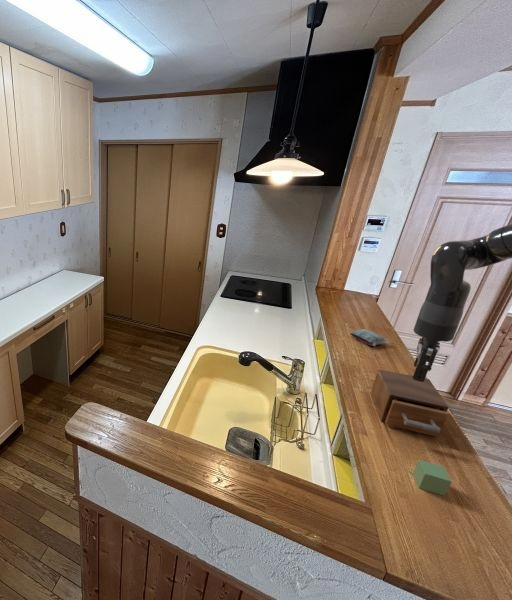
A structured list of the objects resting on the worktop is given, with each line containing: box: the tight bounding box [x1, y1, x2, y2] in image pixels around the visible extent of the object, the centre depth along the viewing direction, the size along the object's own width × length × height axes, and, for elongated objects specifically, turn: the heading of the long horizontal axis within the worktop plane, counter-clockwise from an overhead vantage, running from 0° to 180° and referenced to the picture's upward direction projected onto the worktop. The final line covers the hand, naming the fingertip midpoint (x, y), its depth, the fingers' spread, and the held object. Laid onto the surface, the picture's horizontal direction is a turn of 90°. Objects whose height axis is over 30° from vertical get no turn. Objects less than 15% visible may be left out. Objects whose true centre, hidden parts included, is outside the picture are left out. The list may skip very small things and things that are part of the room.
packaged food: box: [349, 328, 391, 347], centre depth 141 cm, size 9×12×5 cm
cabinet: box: [370, 369, 449, 423], centre depth 98 cm, size 15×13×10 cm
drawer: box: [384, 397, 449, 438], centre depth 93 cm, size 18×11×8 cm, turn 153°
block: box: [412, 459, 452, 497], centre depth 75 cm, size 4×4×4 cm
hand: (418, 373), depth 88 cm, fingers open, 8 cm apart
